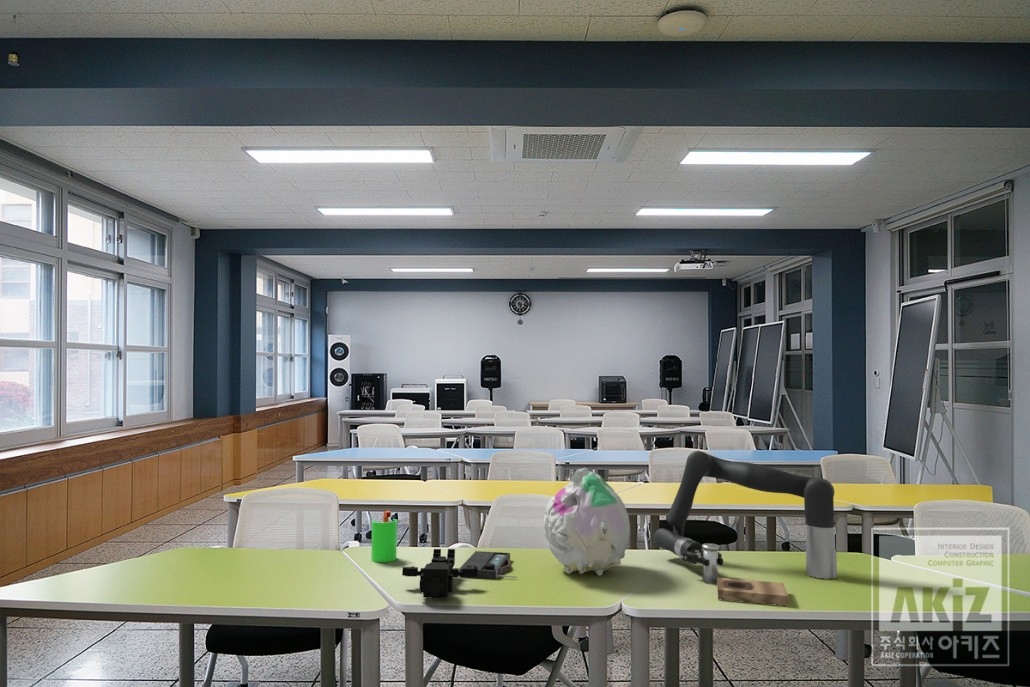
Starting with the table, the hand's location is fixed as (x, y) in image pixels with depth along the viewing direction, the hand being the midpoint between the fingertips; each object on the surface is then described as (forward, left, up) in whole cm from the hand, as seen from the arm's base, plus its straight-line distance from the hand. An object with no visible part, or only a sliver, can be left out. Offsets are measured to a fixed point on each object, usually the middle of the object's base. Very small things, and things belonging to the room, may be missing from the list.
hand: (714, 562), depth 219 cm
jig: (-11, +10, -7) cm, 16 cm away
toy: (+84, +33, -7) cm, 91 cm away
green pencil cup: (+117, +6, -7) cm, 118 cm away
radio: (+75, +5, -8) cm, 75 cm away
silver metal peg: (+1, -2, -7) cm, 7 cm away
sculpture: (+43, -2, -7) cm, 44 cm away
